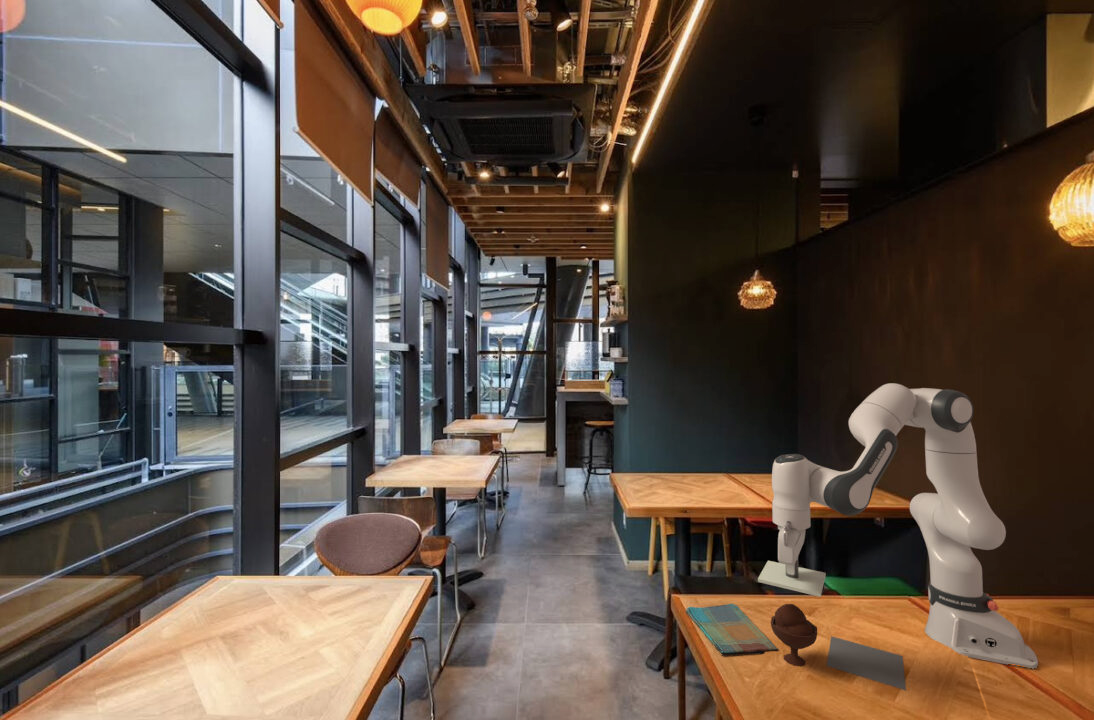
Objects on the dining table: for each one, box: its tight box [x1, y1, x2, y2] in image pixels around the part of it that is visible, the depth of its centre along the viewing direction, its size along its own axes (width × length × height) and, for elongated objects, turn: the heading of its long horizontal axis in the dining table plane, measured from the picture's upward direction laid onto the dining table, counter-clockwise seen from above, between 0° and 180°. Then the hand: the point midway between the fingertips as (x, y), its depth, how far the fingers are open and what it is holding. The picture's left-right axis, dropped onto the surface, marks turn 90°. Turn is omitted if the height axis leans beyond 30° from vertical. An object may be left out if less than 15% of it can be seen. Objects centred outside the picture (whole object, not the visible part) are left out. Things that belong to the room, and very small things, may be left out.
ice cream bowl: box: [770, 603, 818, 667], centre depth 120 cm, size 11×11×15 cm
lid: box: [757, 559, 827, 598], centre depth 121 cm, size 14×14×5 cm
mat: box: [826, 636, 907, 691], centre depth 119 cm, size 16×16×1 cm
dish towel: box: [685, 603, 780, 657], centre depth 135 cm, size 17×23×2 cm
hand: (792, 570), depth 121 cm, fingers closed on lid, 3 cm apart
